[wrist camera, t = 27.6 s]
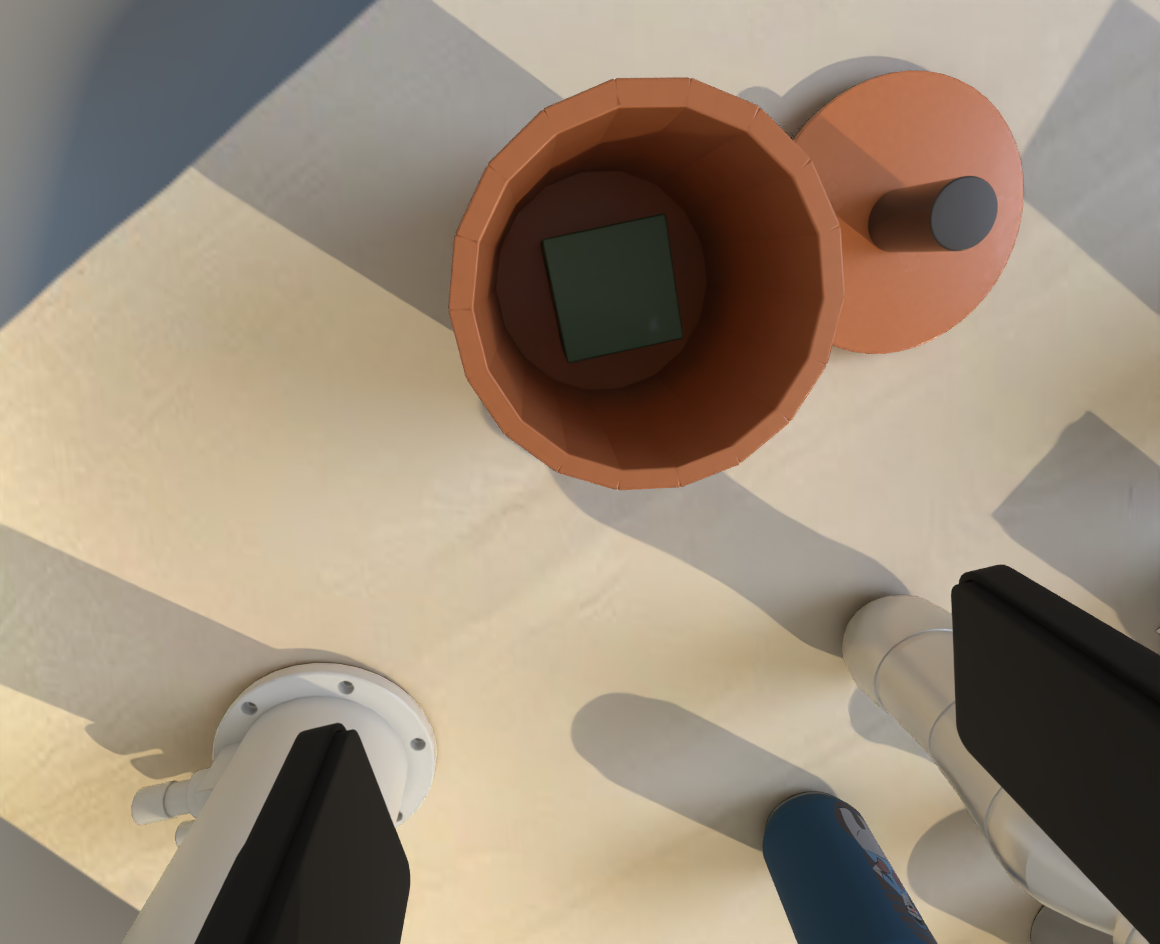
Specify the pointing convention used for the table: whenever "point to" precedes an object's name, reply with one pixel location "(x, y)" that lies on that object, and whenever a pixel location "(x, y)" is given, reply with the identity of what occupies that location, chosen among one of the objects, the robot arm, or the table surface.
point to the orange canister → (702, 274)
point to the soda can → (836, 876)
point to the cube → (613, 288)
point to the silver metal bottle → (964, 751)
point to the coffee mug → (1064, 930)
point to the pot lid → (915, 203)
